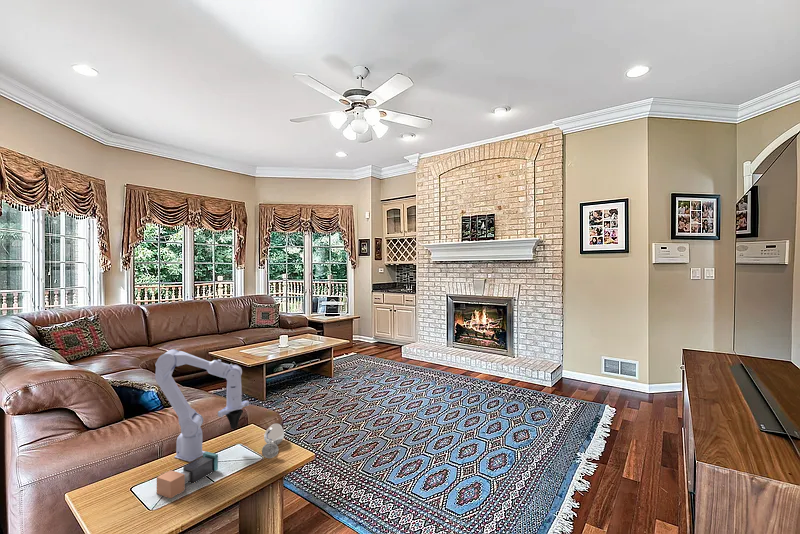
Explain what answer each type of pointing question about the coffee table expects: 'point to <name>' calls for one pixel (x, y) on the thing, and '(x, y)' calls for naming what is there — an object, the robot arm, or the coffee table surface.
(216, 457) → the grey and teal block
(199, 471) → the dark grey rectangular bar
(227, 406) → the robot arm
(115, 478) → the coffee table surface
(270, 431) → the wineglass
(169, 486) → the orange brown block
